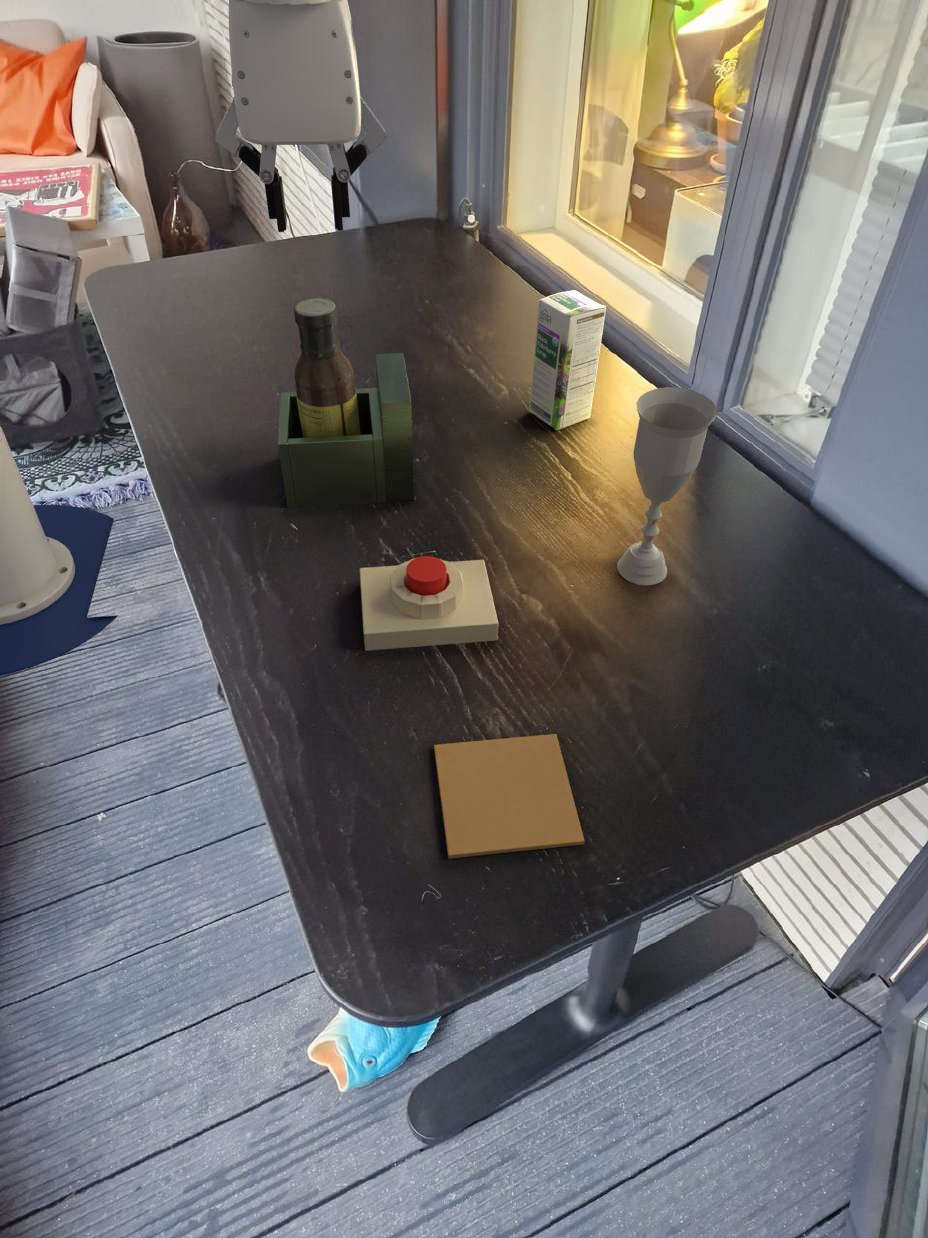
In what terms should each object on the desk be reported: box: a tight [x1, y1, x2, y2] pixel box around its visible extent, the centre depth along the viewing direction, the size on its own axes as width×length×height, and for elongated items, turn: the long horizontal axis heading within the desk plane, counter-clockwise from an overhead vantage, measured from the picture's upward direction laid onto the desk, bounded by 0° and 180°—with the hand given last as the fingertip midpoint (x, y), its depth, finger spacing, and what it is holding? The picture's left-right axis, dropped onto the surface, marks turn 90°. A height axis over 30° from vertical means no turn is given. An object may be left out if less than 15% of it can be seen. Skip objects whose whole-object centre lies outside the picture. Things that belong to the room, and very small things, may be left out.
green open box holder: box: [277, 352, 415, 509], centre depth 91 cm, size 14×11×12 cm
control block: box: [359, 557, 499, 651], centre depth 78 cm, size 12×9×4 cm
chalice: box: [616, 386, 718, 586], centre depth 79 cm, size 7×7×18 cm
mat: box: [433, 733, 585, 859], centre depth 65 cm, size 10×10×1 cm
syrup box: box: [528, 289, 607, 431], centre depth 101 cm, size 6×6×14 cm
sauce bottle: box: [293, 297, 361, 438], centre depth 89 cm, size 6×6×20 cm
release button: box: [406, 555, 446, 596], centre depth 77 cm, size 4×4×2 cm
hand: (310, 223), depth 77 cm, fingers open, 4 cm apart
